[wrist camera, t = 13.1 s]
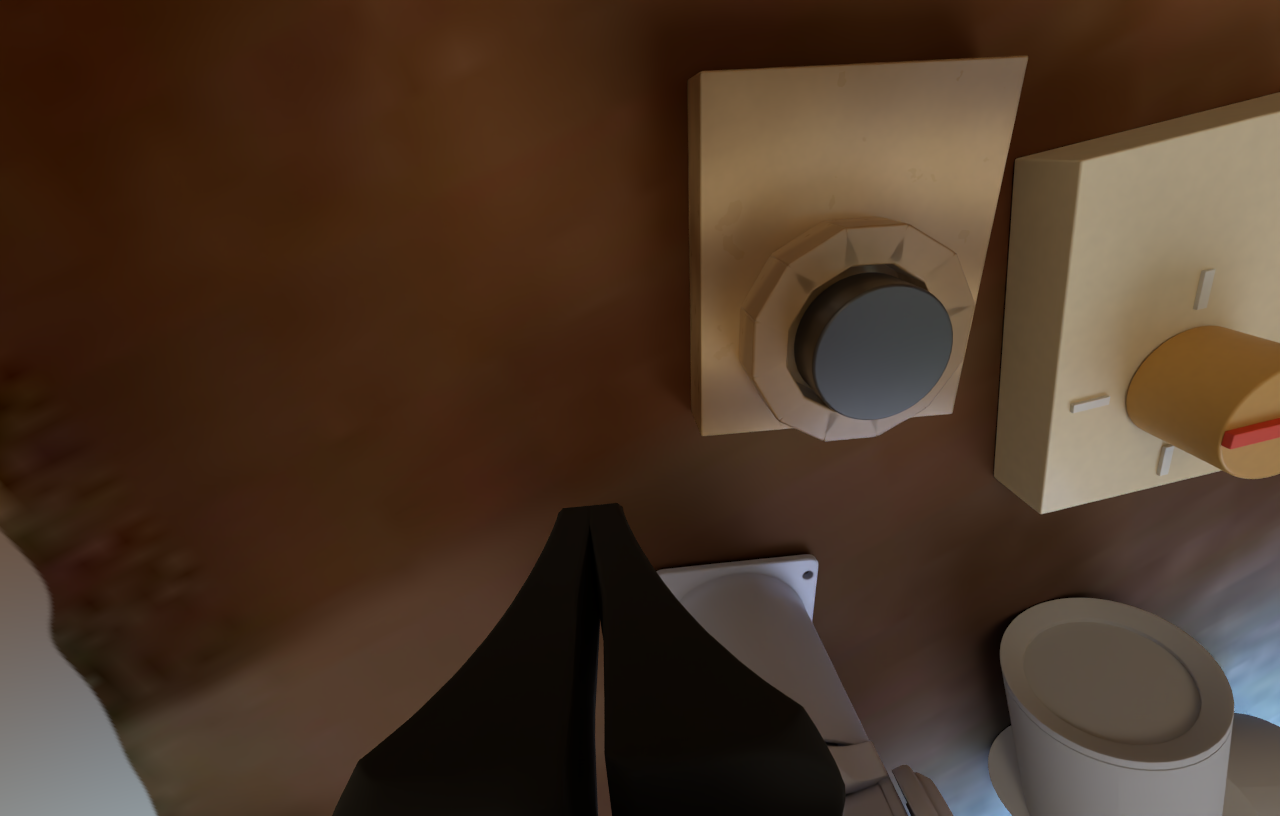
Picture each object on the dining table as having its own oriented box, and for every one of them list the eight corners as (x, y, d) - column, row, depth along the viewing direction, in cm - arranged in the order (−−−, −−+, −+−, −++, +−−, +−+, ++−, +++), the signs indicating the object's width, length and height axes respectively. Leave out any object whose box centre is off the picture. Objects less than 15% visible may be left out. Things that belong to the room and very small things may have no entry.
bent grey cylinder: (894, 815, 35) (1165, 807, 38) (1026, 1033, 25) (1385, 1000, 28) (954, 558, 32) (1248, 569, 34) (1137, 689, 21) (1536, 690, 24)
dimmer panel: (1202, 425, 26) (1278, 460, 23) (992, 477, 26) (1043, 517, 23) (1287, 89, 20) (1406, 80, 17) (1013, 158, 20) (1085, 160, 17)
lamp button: (911, 393, 19) (940, 415, 18) (788, 403, 19) (807, 427, 18) (933, 266, 18) (967, 278, 16) (798, 276, 17) (819, 289, 16)
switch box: (921, 392, 24) (982, 436, 20) (691, 412, 23) (710, 461, 19) (982, 64, 19) (1078, 45, 15) (686, 79, 18) (712, 62, 14)
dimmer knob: (1254, 311, 20) (1392, 345, 17) (1225, 417, 22) (1344, 466, 19) (1134, 341, 20) (1248, 381, 17) (1116, 443, 22) (1215, 498, 19)
